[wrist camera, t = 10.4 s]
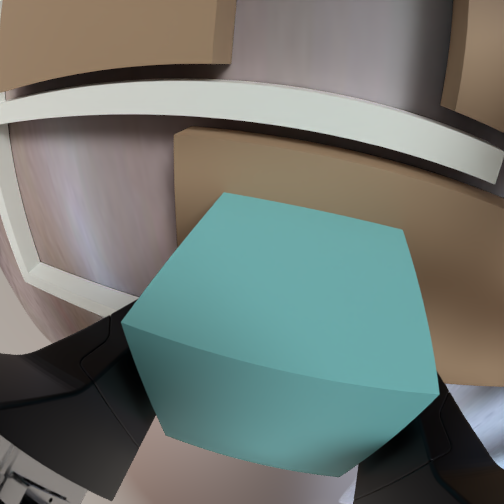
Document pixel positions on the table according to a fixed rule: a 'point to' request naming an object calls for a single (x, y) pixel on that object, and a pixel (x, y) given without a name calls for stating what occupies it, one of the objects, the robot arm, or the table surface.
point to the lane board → (173, 100)
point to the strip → (377, 211)
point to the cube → (285, 337)
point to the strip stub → (476, 62)
